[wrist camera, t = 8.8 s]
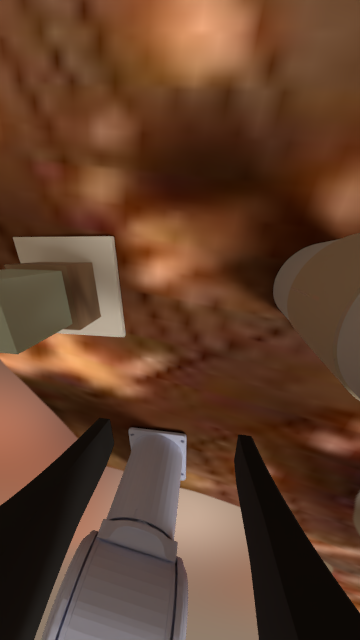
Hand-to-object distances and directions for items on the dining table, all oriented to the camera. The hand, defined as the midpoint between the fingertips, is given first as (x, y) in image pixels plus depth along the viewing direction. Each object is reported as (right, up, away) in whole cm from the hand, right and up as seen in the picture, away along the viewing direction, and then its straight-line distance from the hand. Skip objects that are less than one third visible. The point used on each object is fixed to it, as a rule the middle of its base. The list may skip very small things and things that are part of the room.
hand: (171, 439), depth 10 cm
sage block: (-11, +9, +5) cm, 15 cm away
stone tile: (-11, +10, +9) cm, 17 cm away
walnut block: (-11, +10, +9) cm, 17 cm away
